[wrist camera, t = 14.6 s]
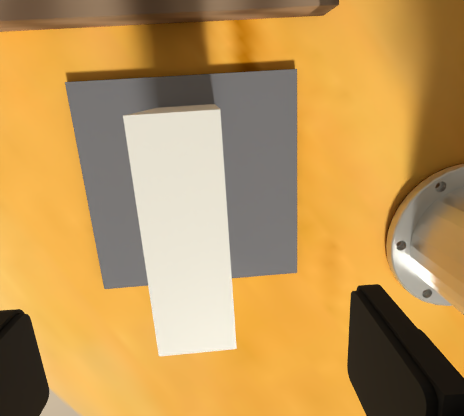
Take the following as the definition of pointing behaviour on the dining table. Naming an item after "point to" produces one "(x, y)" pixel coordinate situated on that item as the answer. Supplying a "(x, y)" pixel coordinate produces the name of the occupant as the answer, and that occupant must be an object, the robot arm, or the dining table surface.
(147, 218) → the white rectangular block
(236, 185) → the rubber mat
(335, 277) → the dining table surface
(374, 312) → the robot arm
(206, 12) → the walnut rack
